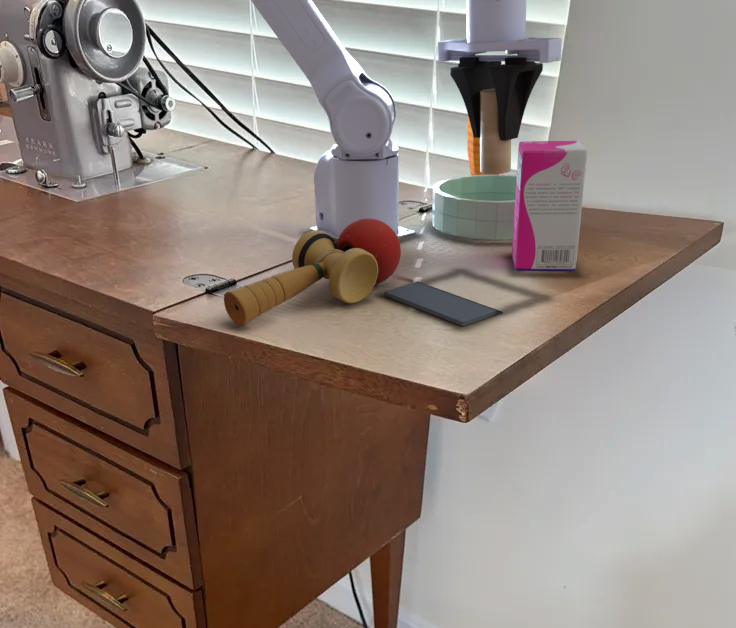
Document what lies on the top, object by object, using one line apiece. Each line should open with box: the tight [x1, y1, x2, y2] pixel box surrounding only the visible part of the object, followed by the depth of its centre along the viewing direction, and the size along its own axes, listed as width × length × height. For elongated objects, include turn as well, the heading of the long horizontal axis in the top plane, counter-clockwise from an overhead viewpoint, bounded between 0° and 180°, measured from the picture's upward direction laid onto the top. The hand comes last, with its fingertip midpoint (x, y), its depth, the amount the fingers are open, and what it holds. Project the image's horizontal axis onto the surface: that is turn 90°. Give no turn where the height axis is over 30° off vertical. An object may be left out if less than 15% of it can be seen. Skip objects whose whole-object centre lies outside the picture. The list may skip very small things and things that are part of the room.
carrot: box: [466, 115, 500, 175], centre depth 98 cm, size 5×5×15 cm
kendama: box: [223, 219, 402, 327], centre depth 69 cm, size 8×6×18 cm
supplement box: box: [511, 140, 588, 272], centre depth 75 cm, size 6×6×12 cm
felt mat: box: [383, 281, 503, 327], centre depth 70 cm, size 10×10×1 cm
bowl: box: [431, 174, 517, 241], centre depth 89 cm, size 14×14×4 cm
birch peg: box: [480, 88, 512, 175], centre depth 82 cm, size 3×3×8 cm
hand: (495, 137), depth 82 cm, fingers closed on birch peg, 3 cm apart
